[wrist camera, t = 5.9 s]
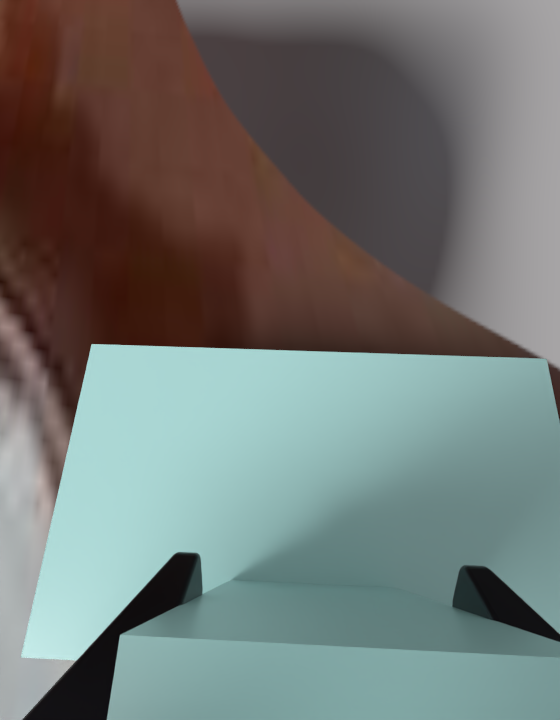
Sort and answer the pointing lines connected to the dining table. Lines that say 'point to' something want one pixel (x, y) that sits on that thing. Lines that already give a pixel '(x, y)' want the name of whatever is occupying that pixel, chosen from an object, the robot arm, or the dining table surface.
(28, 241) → the dining table surface
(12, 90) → the dining table surface
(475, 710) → the lid
